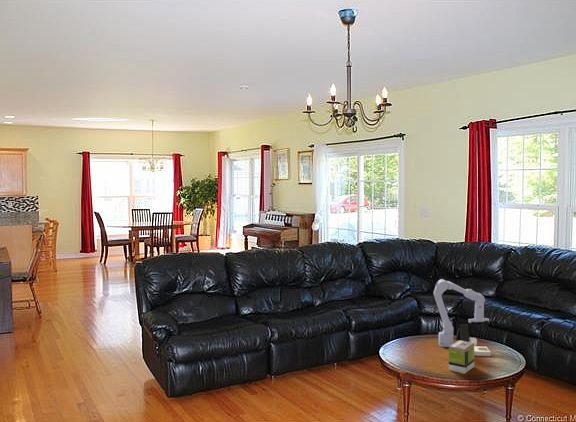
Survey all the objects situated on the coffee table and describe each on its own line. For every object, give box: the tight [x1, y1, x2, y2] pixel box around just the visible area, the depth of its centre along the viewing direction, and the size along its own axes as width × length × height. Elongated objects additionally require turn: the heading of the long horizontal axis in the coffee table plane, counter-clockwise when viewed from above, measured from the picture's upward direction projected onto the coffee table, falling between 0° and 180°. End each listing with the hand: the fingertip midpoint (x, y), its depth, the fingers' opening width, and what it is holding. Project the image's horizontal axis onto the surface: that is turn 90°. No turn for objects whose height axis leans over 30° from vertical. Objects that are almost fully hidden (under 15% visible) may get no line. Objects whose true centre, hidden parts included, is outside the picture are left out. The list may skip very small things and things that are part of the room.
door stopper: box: [455, 323, 470, 342], centre depth 367 cm, size 9×6×12 cm, turn 14°
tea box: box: [448, 340, 475, 374], centre depth 315 cm, size 15×10×15 cm
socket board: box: [474, 346, 492, 357], centre depth 343 cm, size 16×11×3 cm
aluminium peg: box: [469, 336, 478, 346], centre depth 355 cm, size 4×4×6 cm
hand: (478, 332), depth 355 cm, fingers open, 7 cm apart
